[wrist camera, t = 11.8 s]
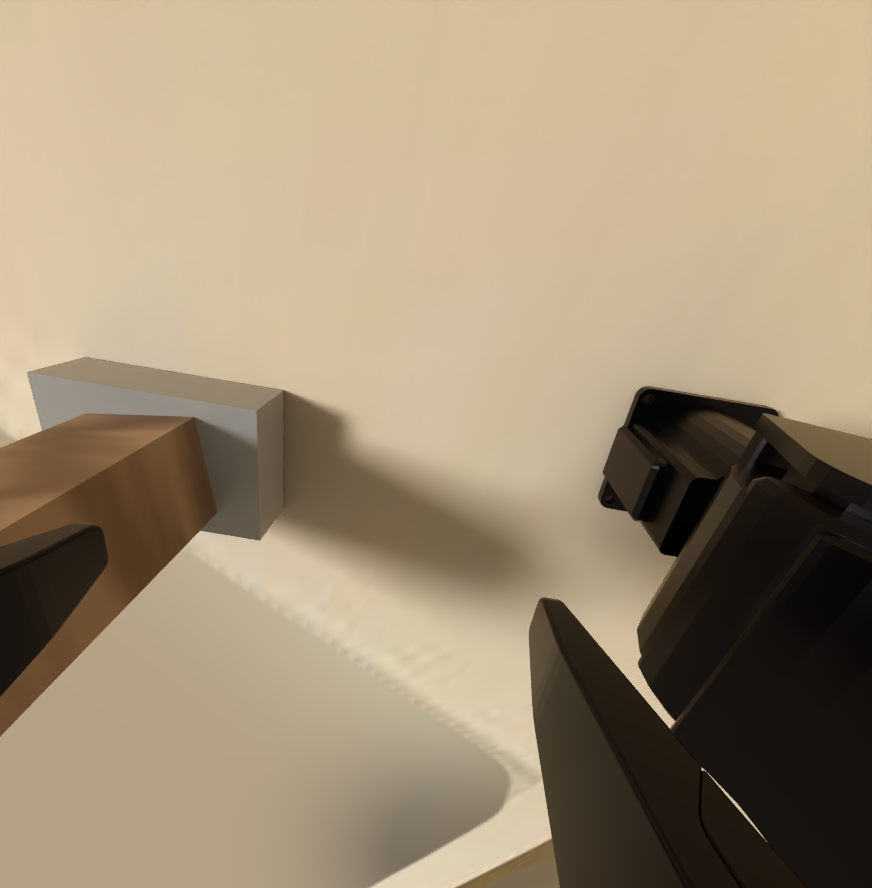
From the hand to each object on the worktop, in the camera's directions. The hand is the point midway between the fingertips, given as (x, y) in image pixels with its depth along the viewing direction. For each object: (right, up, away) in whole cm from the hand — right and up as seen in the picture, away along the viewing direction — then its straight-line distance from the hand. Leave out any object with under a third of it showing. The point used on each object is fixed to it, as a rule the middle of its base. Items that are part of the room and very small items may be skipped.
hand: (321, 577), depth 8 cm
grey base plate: (-11, +3, +14) cm, 18 cm away
